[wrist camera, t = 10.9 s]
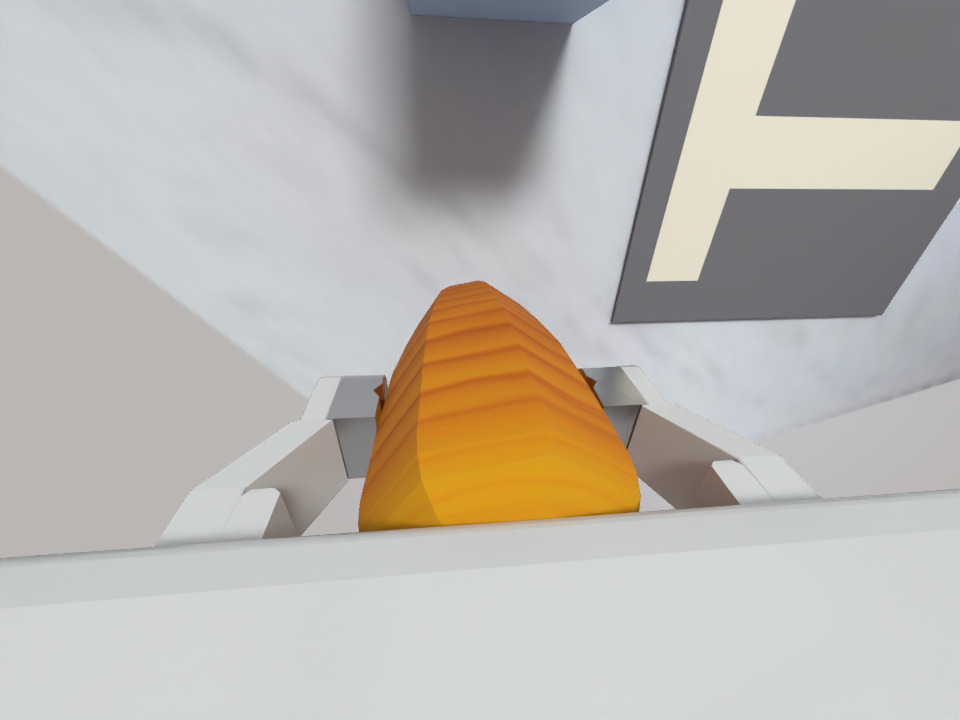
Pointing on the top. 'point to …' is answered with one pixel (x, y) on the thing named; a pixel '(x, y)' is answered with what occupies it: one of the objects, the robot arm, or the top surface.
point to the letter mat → (796, 159)
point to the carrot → (490, 425)
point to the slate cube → (508, 9)
